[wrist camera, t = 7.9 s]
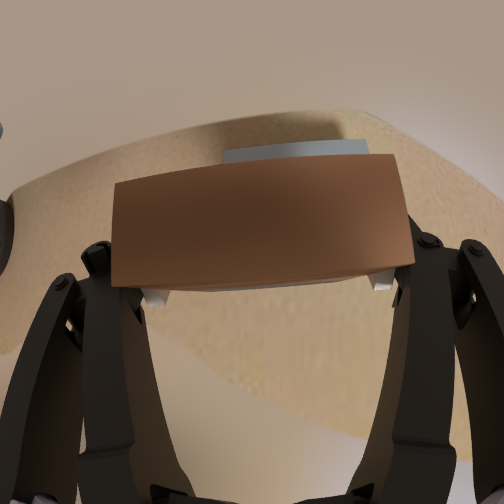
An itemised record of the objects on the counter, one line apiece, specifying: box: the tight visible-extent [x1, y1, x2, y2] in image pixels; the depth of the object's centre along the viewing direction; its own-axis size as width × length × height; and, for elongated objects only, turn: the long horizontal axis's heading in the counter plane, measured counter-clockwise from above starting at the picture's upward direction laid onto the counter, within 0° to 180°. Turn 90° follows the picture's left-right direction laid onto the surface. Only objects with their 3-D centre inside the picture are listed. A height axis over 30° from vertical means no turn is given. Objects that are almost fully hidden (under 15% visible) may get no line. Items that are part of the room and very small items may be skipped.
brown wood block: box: [111, 154, 415, 292], centre depth 12 cm, size 3×8×11 cm, turn 94°
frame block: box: [223, 139, 369, 164], centre depth 27 cm, size 9×14×6 cm, turn 95°
